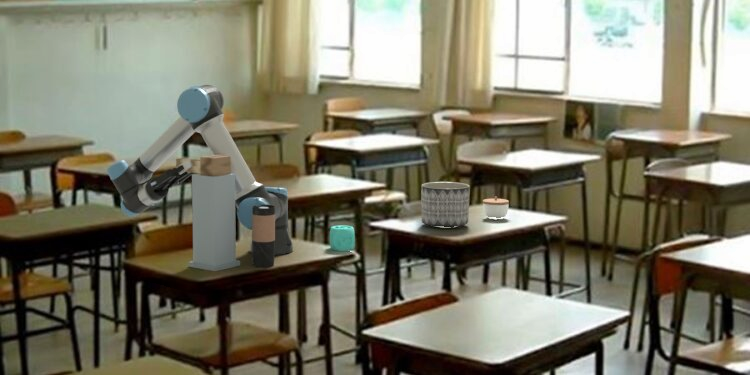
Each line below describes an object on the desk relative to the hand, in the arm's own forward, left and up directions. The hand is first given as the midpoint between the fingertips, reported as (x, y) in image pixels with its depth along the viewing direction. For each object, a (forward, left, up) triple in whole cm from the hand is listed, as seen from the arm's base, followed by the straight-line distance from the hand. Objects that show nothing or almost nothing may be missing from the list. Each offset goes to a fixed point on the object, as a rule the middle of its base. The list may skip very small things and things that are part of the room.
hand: (194, 162), depth 412 cm
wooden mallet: (-2, +3, -3) cm, 5 cm away
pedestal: (-4, +8, -34) cm, 35 cm away
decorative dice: (-55, -5, -35) cm, 65 cm away
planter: (-110, -34, -35) cm, 120 cm away
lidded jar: (-137, -42, -35) cm, 147 cm away
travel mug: (-20, +12, -34) cm, 42 cm away
